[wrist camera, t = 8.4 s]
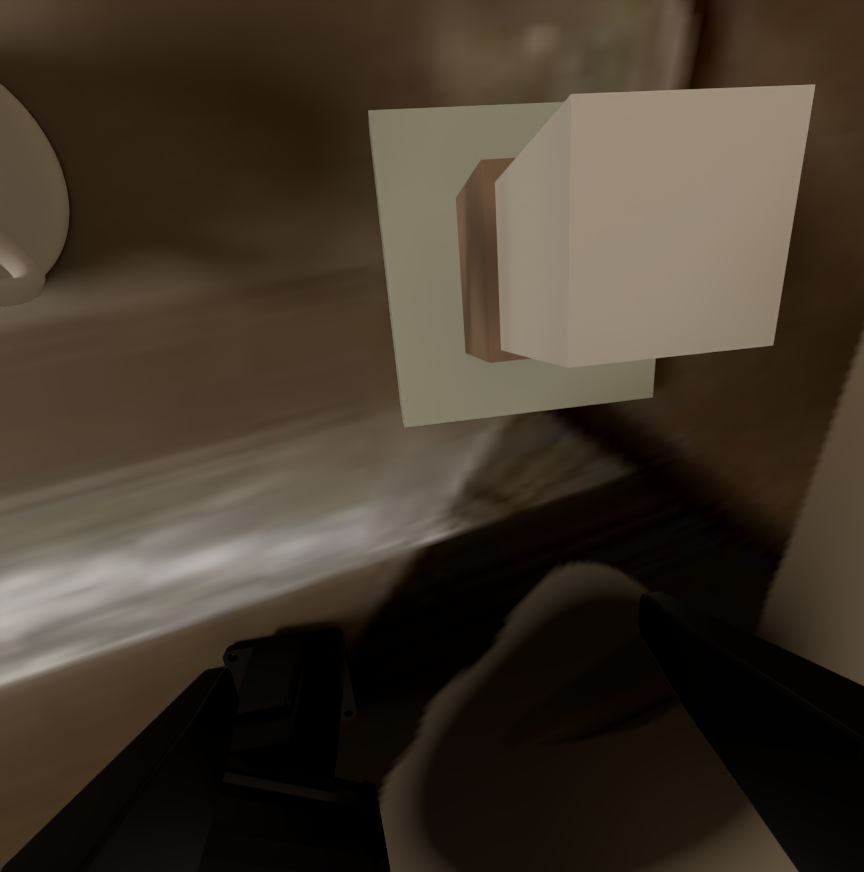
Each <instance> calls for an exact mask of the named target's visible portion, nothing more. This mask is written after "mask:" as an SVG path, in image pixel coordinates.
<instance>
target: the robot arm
mask: <svg viewBox="0 0 864 872" xmlns="http://www.w3.org/2000/svg"><path fill="white" fill-rule="evenodd" d="M638 625H639V629H640V632H641V634H642V636H643V638H644V640H645V642H646V643H647V645H648V647H649V648H650V650H651V652H652V654H653V655H654V657H655V659H656V661H657V662H658V664H659V666H660V668H661V669H662V671H663V673H664V675H665V676H666V678H667V680H668V681H669V683H670V685H671V687H672V688H673V690H674V692H675V693H676V695H677V697H678V698H679V700H680V702H681V703H682V705H683V706H684V708H685V709H686V710H687V712H688V714H689V715H690V716H691V718H692V719H693V721H694V722H695V724H696V725H697V727H698V728H699V730H700V731H701V732H702V734H703V735H704V737H705V738H706V739H707V741H708V743H709V744H710V745H711V747H712V748H713V750H714V751H715V753H716V754H717V755H718V757H719V758H720V760H721V761H722V763H723V764H724V765H725V767H726V768H727V770H728V771H729V772H730V774H731V775H732V777H733V778H734V780H735V781H736V782H737V784H738V786H739V787H740V788H741V790H742V791H743V793H744V794H745V796H746V797H747V798H748V800H749V801H750V803H751V804H752V805H753V807H754V808H755V810H756V811H757V813H758V814H759V816H760V817H761V818H762V820H763V821H764V823H765V824H766V826H767V827H768V828H769V830H770V831H771V833H772V834H773V836H774V837H775V838H776V840H777V841H778V843H779V844H780V846H781V847H782V849H783V850H784V851H785V853H786V854H787V856H788V857H789V859H790V860H791V862H792V863H793V864H794V865H795V867H796V869H797V870H798V872H864V686H862V685H860V684H858V683H856V682H854V681H852V680H850V679H848V678H846V677H843V676H841V675H839V674H837V673H835V672H833V671H831V670H828V669H826V668H824V667H822V666H820V665H818V664H816V663H813V662H811V661H809V660H807V659H805V658H803V657H800V656H798V655H796V654H794V653H792V652H790V651H788V650H786V649H783V648H781V647H779V646H777V645H775V644H773V643H770V642H768V641H766V640H764V639H762V638H760V637H758V636H756V635H753V634H751V633H749V632H747V631H745V630H743V629H741V628H738V627H736V626H734V625H732V624H730V623H728V622H726V621H723V620H721V619H719V618H717V617H715V616H713V615H711V614H708V613H706V612H704V611H702V610H700V609H698V608H696V607H693V606H691V605H689V604H687V603H685V602H683V601H681V600H678V599H676V598H674V597H672V596H670V595H668V594H666V593H663V592H660V591H655V592H649V593H644V594H643V595H642V596H641V597H640V607H639V620H638ZM332 637H336V639H332ZM231 654H234V655H236V656H233V655H231ZM223 661H224V664H225V666H219V667H213V668H209V669H206V670H205V671H203V672H202V673H201V674H200V675H199V676H198V677H197V678H196V679H195V680H194V681H193V682H192V683H191V684H190V685H189V686H188V687H187V688H186V689H185V690H184V691H183V692H182V693H181V694H180V695H179V696H178V697H177V698H176V699H175V700H173V701H172V702H171V703H170V704H169V705H168V706H167V707H166V708H165V709H164V710H163V711H162V712H161V713H160V714H159V715H158V716H157V717H156V718H155V719H154V720H153V721H152V722H151V723H150V724H149V725H148V726H147V727H146V728H145V729H144V730H143V731H142V732H141V733H140V734H139V735H138V736H137V737H135V738H134V739H133V740H132V741H131V742H130V743H129V744H128V745H127V746H126V747H125V748H124V749H123V750H122V751H121V752H120V753H119V754H118V755H117V756H116V757H115V758H114V759H113V760H112V761H111V762H110V763H109V764H108V765H107V766H106V767H105V768H104V769H103V770H102V771H101V772H100V773H99V774H97V775H96V776H95V777H94V778H93V779H92V780H91V781H90V782H89V783H88V784H87V785H86V786H85V787H84V788H83V789H82V790H81V791H80V792H79V793H78V794H77V795H76V796H75V797H74V798H73V799H72V800H71V801H70V802H69V803H68V804H67V805H66V806H65V807H64V808H63V809H62V810H61V811H59V812H58V813H57V814H56V815H55V816H54V817H53V818H52V819H51V820H50V821H49V822H48V823H47V824H46V825H45V826H44V827H43V828H42V829H41V830H40V831H39V832H38V833H37V834H36V835H35V836H34V837H33V838H32V839H31V840H30V841H29V842H28V843H27V844H26V845H25V846H24V847H23V848H21V849H20V850H19V851H18V852H17V853H16V854H15V855H14V856H13V857H12V858H11V859H10V860H9V861H8V862H7V863H6V864H5V865H4V866H3V867H2V869H1V871H0V872H390V865H389V859H388V854H387V848H386V842H385V836H384V830H383V825H382V819H381V813H380V807H379V801H378V796H377V790H376V784H375V783H373V782H368V781H363V783H361V782H356V781H351V780H346V779H341V778H336V777H335V774H336V763H337V752H338V742H339V731H340V722H341V721H346V720H351V719H353V718H354V717H356V715H357V702H356V697H355V692H354V686H353V681H352V676H351V671H350V665H349V660H348V655H347V650H346V645H345V639H344V634H343V632H342V631H341V630H340V629H338V628H332V629H326V630H320V631H314V632H308V633H302V634H296V635H290V636H284V637H278V638H272V639H266V640H260V641H254V642H248V643H242V644H236V645H231V646H229V647H228V648H227V649H226V651H225V653H224V656H223ZM348 710H350V711H348Z"/></svg>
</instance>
